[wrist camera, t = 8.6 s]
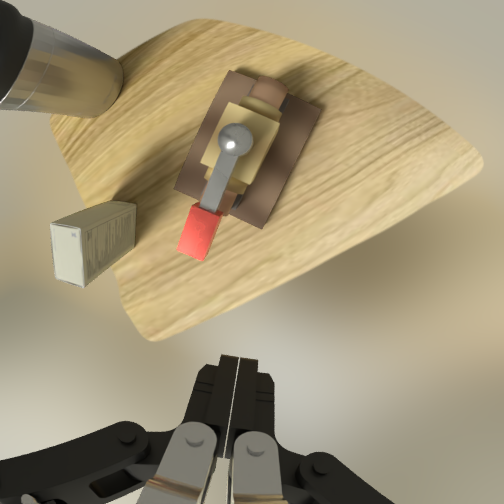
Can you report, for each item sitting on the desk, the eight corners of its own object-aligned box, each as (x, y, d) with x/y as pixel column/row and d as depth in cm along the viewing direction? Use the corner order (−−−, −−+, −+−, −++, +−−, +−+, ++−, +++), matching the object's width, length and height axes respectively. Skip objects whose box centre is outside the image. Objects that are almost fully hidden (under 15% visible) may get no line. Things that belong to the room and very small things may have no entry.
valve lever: (229, 121, 21) (225, 118, 19) (258, 132, 21) (257, 130, 19) (182, 242, 24) (175, 249, 22) (208, 254, 24) (203, 261, 22)
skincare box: (110, 199, 32) (48, 219, 21) (138, 203, 32) (80, 226, 21) (108, 244, 34) (53, 279, 23) (136, 250, 34) (84, 289, 23)
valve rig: (262, 226, 32) (259, 247, 24) (177, 187, 31) (149, 196, 23) (319, 111, 27) (335, 95, 20) (231, 74, 27) (218, 47, 19)
